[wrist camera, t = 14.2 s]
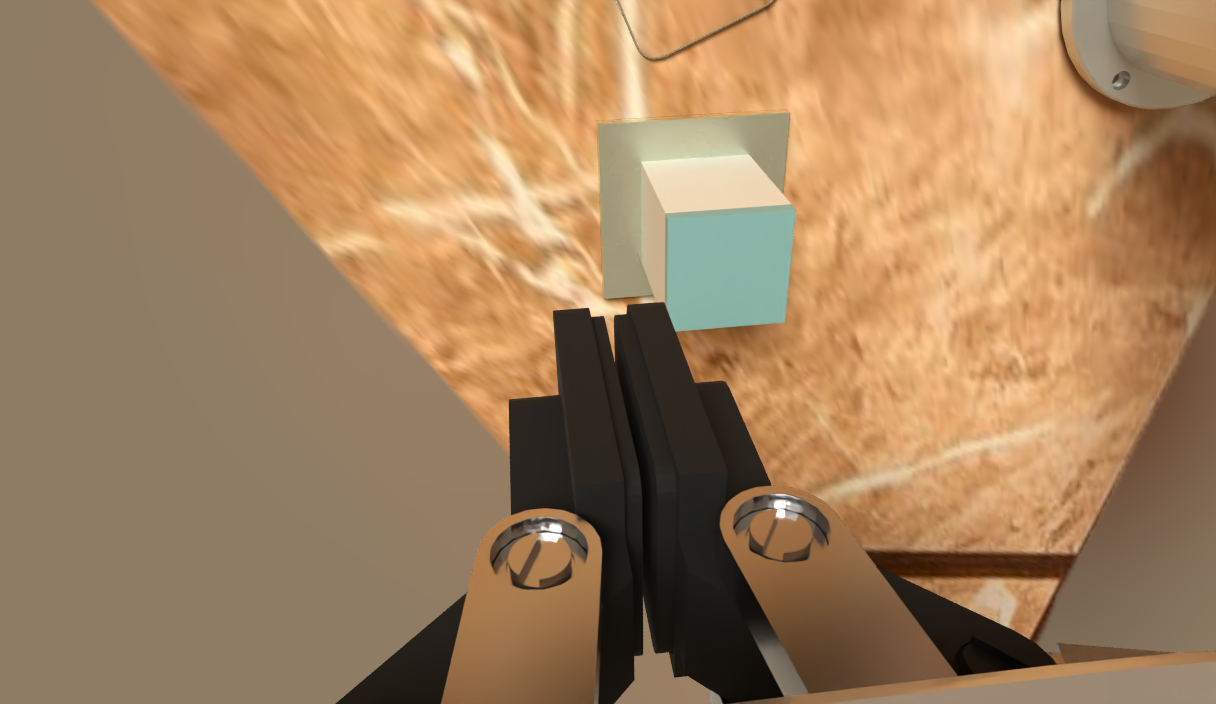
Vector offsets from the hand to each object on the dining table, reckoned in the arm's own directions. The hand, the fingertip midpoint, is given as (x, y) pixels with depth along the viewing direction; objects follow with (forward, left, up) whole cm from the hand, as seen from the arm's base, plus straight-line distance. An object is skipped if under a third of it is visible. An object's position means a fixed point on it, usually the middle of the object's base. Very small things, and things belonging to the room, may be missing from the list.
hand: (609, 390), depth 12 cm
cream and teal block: (-7, +8, -26) cm, 29 cm away
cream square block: (-7, +8, -27) cm, 29 cm away
